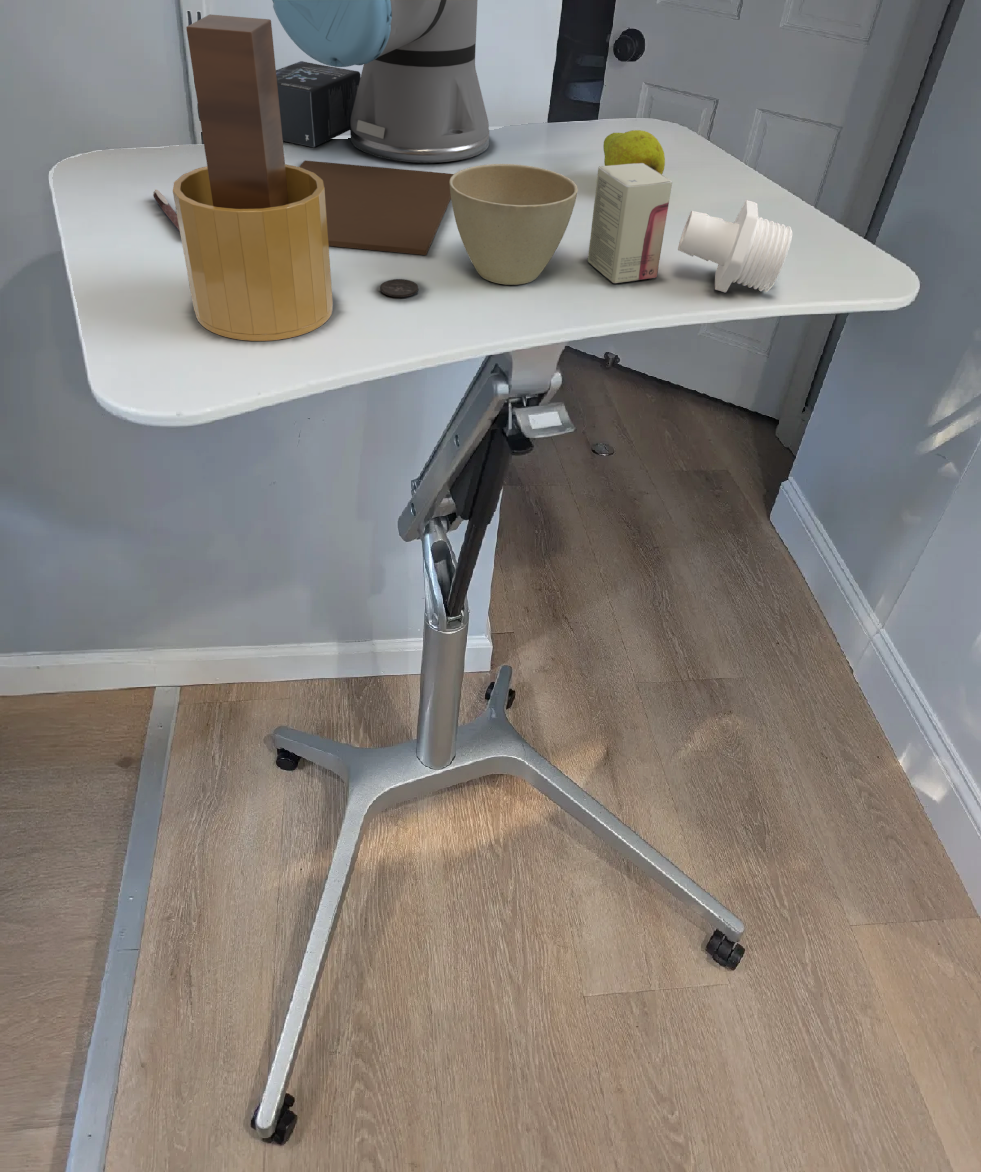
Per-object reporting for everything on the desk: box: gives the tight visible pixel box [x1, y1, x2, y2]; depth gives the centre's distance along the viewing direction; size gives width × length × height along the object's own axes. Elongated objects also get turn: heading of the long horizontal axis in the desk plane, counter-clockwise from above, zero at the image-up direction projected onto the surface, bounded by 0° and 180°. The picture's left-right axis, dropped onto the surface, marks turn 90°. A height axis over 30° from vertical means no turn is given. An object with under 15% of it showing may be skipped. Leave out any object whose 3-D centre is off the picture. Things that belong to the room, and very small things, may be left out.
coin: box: [379, 278, 419, 298], centre depth 71 cm, size 3×1×3 cm
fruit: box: [603, 129, 666, 175], centre depth 91 cm, size 6×6×12 cm
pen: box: [152, 189, 180, 232], centre depth 79 cm, size 11×1×1 cm, turn 29°
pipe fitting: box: [677, 199, 793, 294], centre depth 73 cm, size 6×7×8 cm
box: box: [276, 60, 362, 148], centre depth 99 cm, size 8×6×11 cm
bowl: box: [450, 163, 579, 286], centre depth 72 cm, size 10×10×7 cm
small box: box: [587, 163, 673, 284], centre depth 73 cm, size 5×4×8 cm
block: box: [185, 14, 289, 209], centre depth 61 cm, size 4×4×18 cm
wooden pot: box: [172, 163, 334, 342], centre depth 64 cm, size 10×10×9 cm
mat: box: [298, 160, 455, 256], centre depth 84 cm, size 20×16×1 cm
